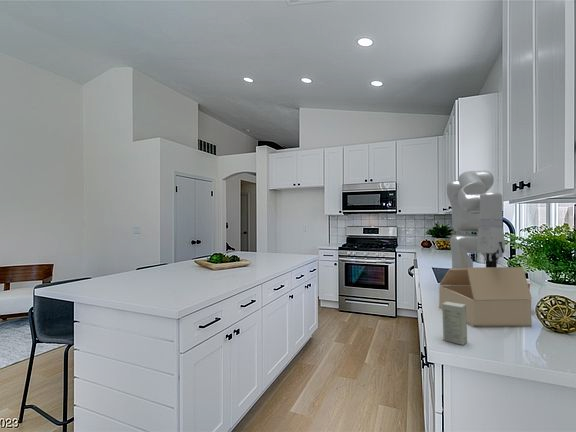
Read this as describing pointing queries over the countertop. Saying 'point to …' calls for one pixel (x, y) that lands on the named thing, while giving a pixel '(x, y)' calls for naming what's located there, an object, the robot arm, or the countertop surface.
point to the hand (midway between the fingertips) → (491, 271)
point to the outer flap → (498, 283)
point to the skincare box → (454, 322)
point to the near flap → (456, 277)
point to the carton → (487, 308)
